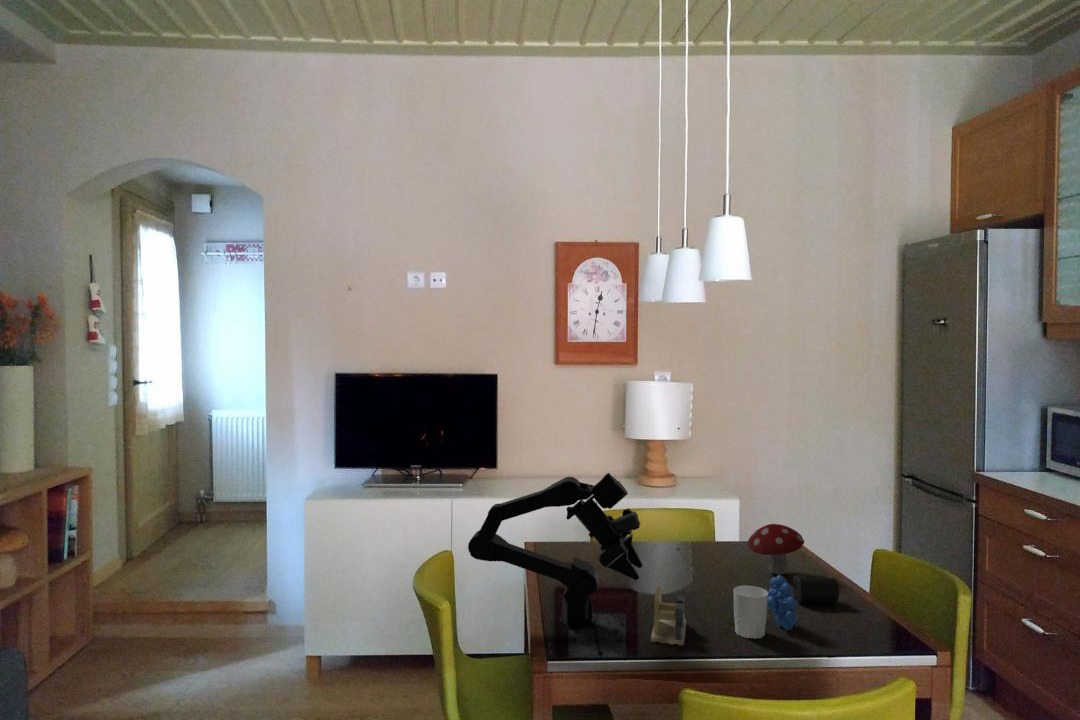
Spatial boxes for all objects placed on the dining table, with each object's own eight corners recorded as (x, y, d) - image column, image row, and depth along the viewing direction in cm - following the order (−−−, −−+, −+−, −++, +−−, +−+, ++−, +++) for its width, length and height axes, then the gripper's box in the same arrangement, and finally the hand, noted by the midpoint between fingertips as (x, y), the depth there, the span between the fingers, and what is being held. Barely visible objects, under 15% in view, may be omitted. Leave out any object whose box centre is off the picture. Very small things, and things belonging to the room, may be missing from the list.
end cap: (800, 607, 190) (801, 581, 189) (790, 597, 197) (791, 572, 196) (839, 607, 190) (840, 582, 190) (827, 598, 197) (828, 573, 197)
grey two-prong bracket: (674, 639, 166) (674, 610, 166) (676, 619, 177) (677, 592, 177) (682, 640, 165) (682, 611, 165) (684, 620, 177) (685, 593, 177)
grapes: (753, 618, 182) (754, 570, 181) (778, 616, 183) (780, 568, 183) (777, 637, 170) (778, 586, 170) (803, 635, 172) (805, 584, 171)
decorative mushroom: (802, 586, 205) (803, 533, 205) (743, 578, 211) (745, 527, 211) (804, 570, 220) (805, 520, 219) (749, 563, 226) (750, 514, 225)
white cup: (747, 642, 167) (748, 599, 167) (725, 629, 175) (726, 587, 174) (774, 637, 170) (775, 594, 170) (752, 624, 178) (753, 583, 177)
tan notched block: (653, 632, 169) (654, 597, 169) (656, 619, 177) (657, 586, 176) (673, 634, 168) (674, 599, 168) (675, 621, 176) (676, 588, 175)
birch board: (651, 641, 167) (651, 637, 167) (655, 620, 179) (655, 616, 179) (683, 645, 165) (683, 641, 165) (686, 623, 177) (686, 619, 177)
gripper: (616, 509, 165) (663, 563, 163) (625, 492, 183) (667, 541, 181) (580, 539, 167) (625, 594, 165) (592, 520, 185) (633, 568, 183)
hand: (639, 572), depth 174 cm, fingers open, 9 cm apart
